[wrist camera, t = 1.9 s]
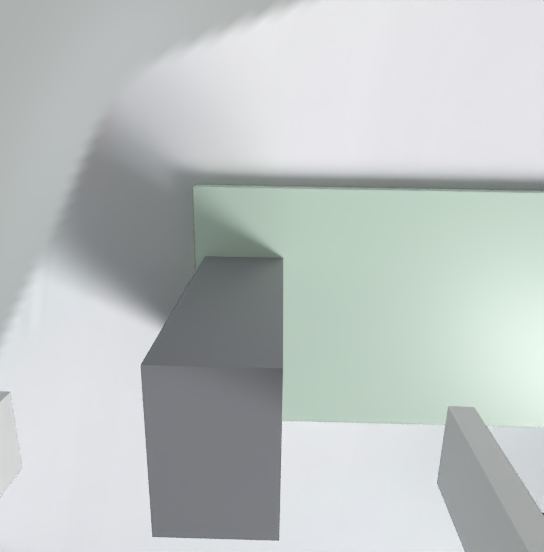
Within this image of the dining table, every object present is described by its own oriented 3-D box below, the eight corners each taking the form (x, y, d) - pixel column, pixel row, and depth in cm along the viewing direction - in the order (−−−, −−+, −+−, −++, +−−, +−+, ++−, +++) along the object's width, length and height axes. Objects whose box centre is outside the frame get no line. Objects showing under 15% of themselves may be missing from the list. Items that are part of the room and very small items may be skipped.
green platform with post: (581, 416, 29) (808, 641, 16) (203, 407, 29) (143, 619, 17) (631, 191, 25) (977, 260, 13) (196, 184, 26) (113, 243, 13)
